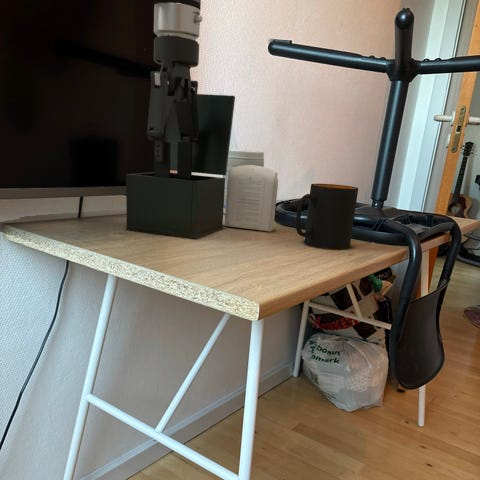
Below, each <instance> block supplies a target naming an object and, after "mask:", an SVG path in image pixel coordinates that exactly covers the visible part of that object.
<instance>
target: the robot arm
mask: <svg viewBox="0 0 480 480" xmlns="http://www.w3.org/2000/svg"><path fill="white" fill-rule="evenodd" d="M201 4H202V0H153V33H154V35H156V37H154V39H153V62H154V63H156V64H157V65H161V66H160V69H159V70H160V71H156V70H155V71H154V70H152V71H150V77H149V78H150V95H149V105H148V116H147V125H146V126H147V127H146V136H147V139H148V141H151V142H154V143H153V146H154V147H153V172H154V177H163V178H170V173H171V170H170V155H171V143H170V142H167V141H168V137H169V133H170V128H171V124H172V119H173V115H174V110H175V109H176V115H177V121H178V127H179V133H180V139H181V141H178V156H177V171H176V173H177V177H178V178H187V179H191V178H192V175H193V172H192V151H193V142H198V106H197V94H198V89H199V81H198V80H192V77H191V69H192V68H197V67H198V66H199V64H200V63H199V62H200V58H199V57H200V43H199V42H198V39H199V38H200V32H201V31H200V30H201V29H200V28H201V23H202V21H203V17H202V15H201V7H202V6H201ZM182 141H183V142H182Z"/></svg>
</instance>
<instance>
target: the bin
mask: <svg viewBox="0 0 480 480" xmlns="http://www.w3.org/2000/svg"><path fill="white" fill-rule="evenodd" d="M125 186H126V187H125V194H126V195H125V197H126V198H125V203H126V206H125V207H126V212H125V213H126V230H127V231H131V232H139V233H147V234H154V235H162V236H168V237H175V238H181V239H182V238H183V239H189V240H190V239H191V240H197V239H199V238H202V237H204V236H207V235H210V234H212V233H215V232H217V231H220V230H222V229H223V227H224V226H223V224H224V213H223V210H224V192H225V178H223V177H220V176H211V175H199V174H192V178H191V179H187V178H178V177H177V172H170V178H163V177H154V171H152V172H139V173H125Z"/></svg>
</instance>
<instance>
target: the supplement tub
mask: <svg viewBox="0 0 480 480" xmlns="http://www.w3.org/2000/svg"><path fill="white" fill-rule="evenodd" d="M264 157H265V152H264V151H259V150H248V149H247V150H246V149H245V150H244V149H229V155H228V164H227V173H226V176H224V175H222V178H225V192H224V210H223V215H225V210H226V196H227V183H228V176H229V171H230V168H233V167H236V166H242V165H256V166H262V167H265V158H264Z"/></svg>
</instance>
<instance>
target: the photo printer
mask: <svg viewBox="0 0 480 480" xmlns="http://www.w3.org/2000/svg"><path fill="white" fill-rule="evenodd" d="M278 189H279V178H278V172H277V171H275V170H273V169H271V168H268V167H265V166H264V167H262V166H256V165H242V166H236V167H233V168H230V171H229V176H228V183H227V196H226V210H225V214H224V226H225V227H228V228H229V227H231V228H236V229H237V228H238V229H244V230H245V229H246V230H255V231H261V232H267V233H268V232H269V233H270V232H272V231H274V227H275V226H274V225H275V216H276V207H277V199H278V198H277V197H278Z"/></svg>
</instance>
